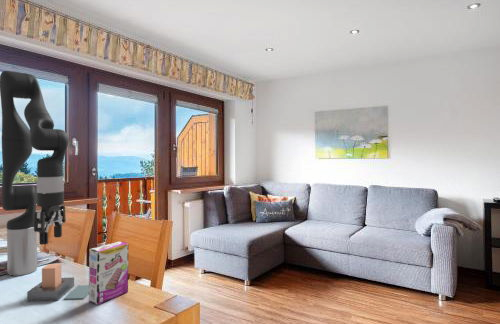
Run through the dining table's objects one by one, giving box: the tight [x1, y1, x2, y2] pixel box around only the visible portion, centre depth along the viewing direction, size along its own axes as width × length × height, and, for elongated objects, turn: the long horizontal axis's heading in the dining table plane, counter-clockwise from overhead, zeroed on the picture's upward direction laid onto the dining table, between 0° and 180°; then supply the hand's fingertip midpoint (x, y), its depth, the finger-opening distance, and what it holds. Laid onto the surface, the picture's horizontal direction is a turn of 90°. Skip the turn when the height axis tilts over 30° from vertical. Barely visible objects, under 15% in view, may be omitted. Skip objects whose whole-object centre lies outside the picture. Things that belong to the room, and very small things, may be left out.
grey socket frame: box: [26, 277, 75, 303], centre depth 105 cm, size 11×9×3 cm
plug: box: [41, 263, 62, 288], centre depth 105 cm, size 4×4×9 cm
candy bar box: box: [88, 241, 129, 306], centre depth 102 cm, size 11×5×16 cm, turn 149°
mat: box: [63, 284, 89, 301], centre depth 106 cm, size 10×6×1 cm, turn 5°
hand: (51, 240), depth 104 cm, fingers open, 8 cm apart
